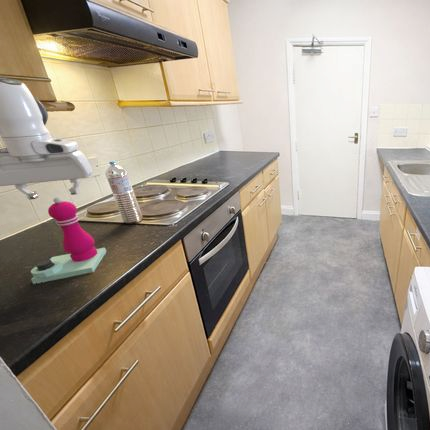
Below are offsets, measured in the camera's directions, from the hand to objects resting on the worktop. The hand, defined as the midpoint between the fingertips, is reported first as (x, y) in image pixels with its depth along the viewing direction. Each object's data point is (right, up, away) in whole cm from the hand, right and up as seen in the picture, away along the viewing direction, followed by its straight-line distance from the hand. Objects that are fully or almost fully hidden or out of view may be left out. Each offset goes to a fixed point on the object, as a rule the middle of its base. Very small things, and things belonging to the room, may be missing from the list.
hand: (55, 196), depth 75 cm
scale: (-2, -21, +7) cm, 22 cm away
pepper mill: (0, -19, +9) cm, 21 cm away
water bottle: (-3, -8, +36) cm, 37 cm away
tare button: (-4, -21, +1) cm, 21 cm away
